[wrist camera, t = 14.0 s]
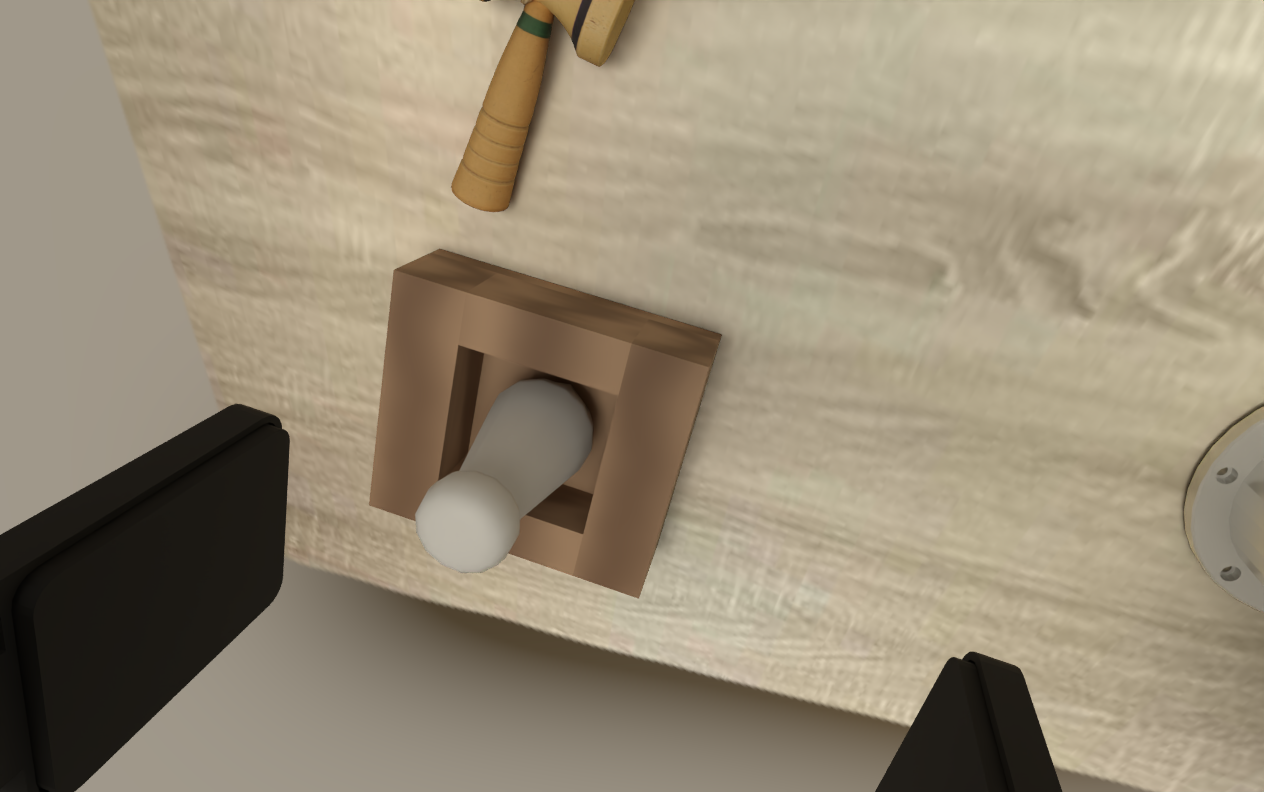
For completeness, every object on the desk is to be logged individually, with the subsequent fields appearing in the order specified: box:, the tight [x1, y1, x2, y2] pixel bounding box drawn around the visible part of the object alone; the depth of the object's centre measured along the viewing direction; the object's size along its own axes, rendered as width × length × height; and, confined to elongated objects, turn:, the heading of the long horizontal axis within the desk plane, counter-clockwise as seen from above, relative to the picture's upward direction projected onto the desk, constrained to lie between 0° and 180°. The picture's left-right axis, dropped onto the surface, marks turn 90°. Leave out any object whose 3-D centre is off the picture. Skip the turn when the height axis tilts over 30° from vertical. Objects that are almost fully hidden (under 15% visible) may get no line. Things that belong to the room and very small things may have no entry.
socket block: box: [369, 249, 722, 598], centre depth 42 cm, size 16×14×5 cm
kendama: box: [451, 0, 635, 212], centre depth 34 cm, size 8×6×18 cm
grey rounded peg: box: [415, 379, 593, 573], centre depth 37 cm, size 6×6×13 cm
